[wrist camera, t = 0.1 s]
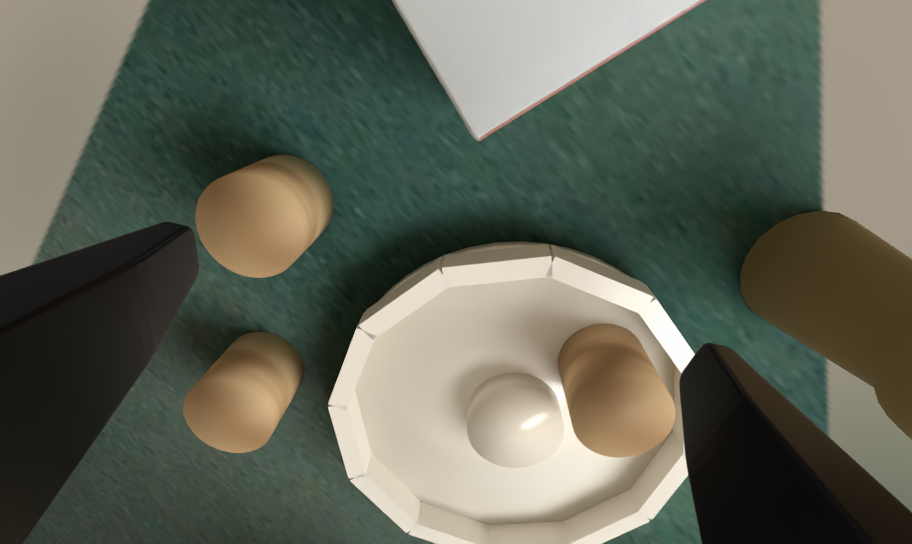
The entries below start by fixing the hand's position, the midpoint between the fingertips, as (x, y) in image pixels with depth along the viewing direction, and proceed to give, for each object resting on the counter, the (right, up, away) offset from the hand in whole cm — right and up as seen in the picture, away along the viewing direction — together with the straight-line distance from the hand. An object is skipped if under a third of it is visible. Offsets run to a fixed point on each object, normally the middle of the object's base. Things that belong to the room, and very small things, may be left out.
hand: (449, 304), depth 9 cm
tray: (+3, -7, +19) cm, 21 cm away
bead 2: (-11, -5, +19) cm, 23 cm away
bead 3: (+8, -4, +17) cm, 19 cm away
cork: (+17, +1, +16) cm, 23 cm away
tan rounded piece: (-8, +4, +16) cm, 18 cm away
